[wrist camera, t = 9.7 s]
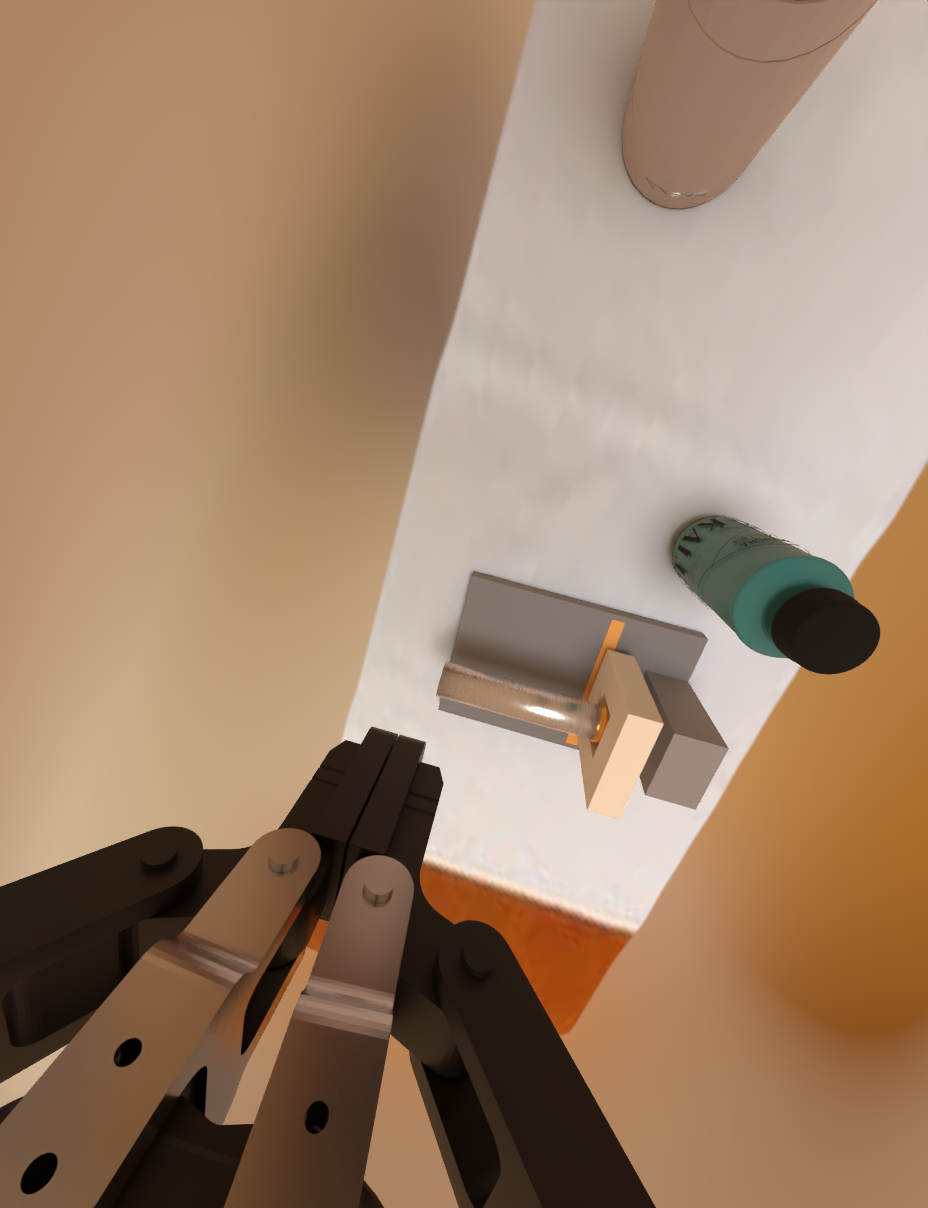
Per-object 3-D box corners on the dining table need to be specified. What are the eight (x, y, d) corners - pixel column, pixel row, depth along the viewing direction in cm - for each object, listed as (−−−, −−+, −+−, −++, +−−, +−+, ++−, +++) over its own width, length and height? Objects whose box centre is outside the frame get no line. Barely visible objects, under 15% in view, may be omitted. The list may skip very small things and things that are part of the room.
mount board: (473, 571, 45) (453, 614, 34) (702, 633, 44) (756, 697, 33) (441, 701, 50) (414, 774, 40) (643, 759, 49) (673, 850, 38)
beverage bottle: (749, 572, 41) (925, 686, 23) (670, 591, 43) (773, 712, 24) (739, 500, 39) (919, 559, 21) (656, 523, 41) (756, 596, 22)
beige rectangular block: (607, 649, 43) (628, 713, 33) (634, 656, 42) (664, 723, 33) (576, 729, 46) (587, 810, 36) (601, 736, 46) (619, 819, 36)
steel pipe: (448, 654, 41) (441, 671, 38) (663, 714, 40) (673, 736, 37) (441, 685, 42) (433, 704, 39) (649, 744, 41) (658, 768, 38)
